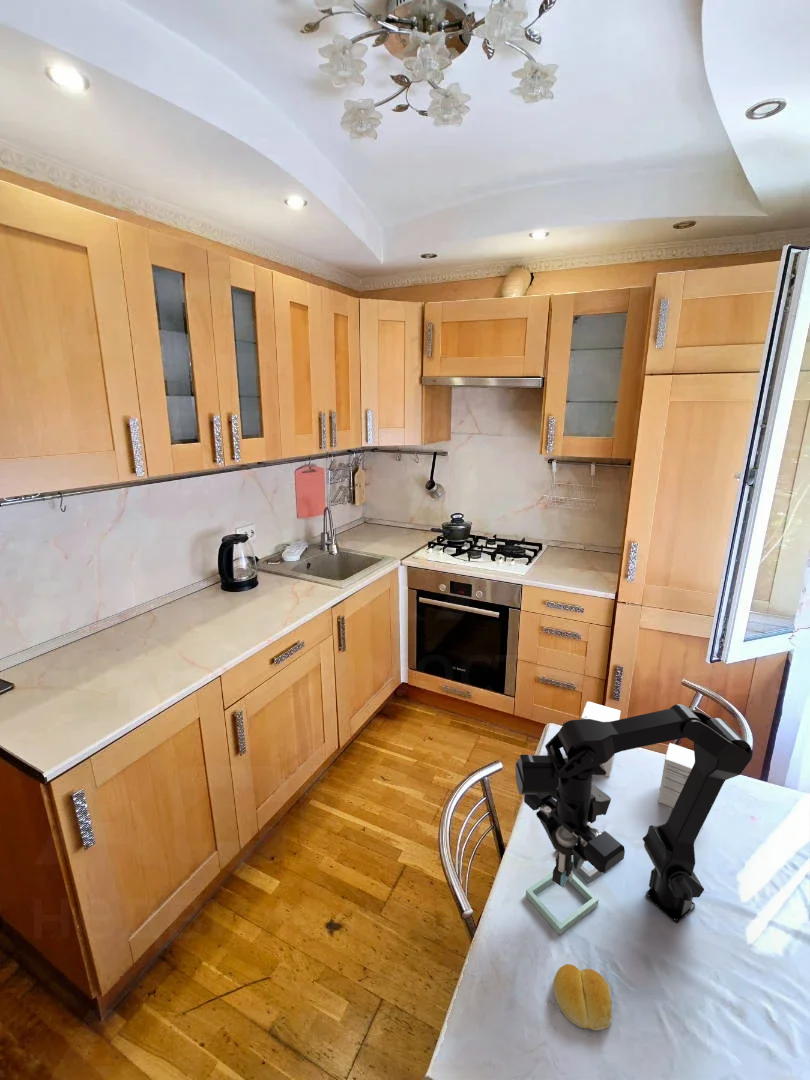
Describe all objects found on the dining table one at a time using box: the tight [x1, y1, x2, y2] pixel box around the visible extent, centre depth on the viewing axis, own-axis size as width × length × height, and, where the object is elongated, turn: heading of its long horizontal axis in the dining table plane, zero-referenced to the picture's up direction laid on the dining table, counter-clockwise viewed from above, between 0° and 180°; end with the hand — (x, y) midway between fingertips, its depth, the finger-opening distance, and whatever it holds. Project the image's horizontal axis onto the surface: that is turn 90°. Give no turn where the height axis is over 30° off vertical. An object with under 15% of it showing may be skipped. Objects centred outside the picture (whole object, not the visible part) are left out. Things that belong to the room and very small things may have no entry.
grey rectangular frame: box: [555, 823, 603, 883], centre depth 104 cm, size 9×11×2 cm
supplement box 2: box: [658, 742, 695, 809], centre depth 117 cm, size 7×7×13 cm
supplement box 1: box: [580, 701, 622, 778], centre depth 130 cm, size 9×9×15 cm
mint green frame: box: [525, 871, 599, 936], centre depth 94 cm, size 9×11×2 cm
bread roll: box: [552, 963, 613, 1032], centre depth 78 cm, size 8×9×4 cm
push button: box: [552, 826, 582, 888], centre depth 91 cm, size 7×5×10 cm
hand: (566, 857), depth 92 cm, fingers closed on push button, 5 cm apart
